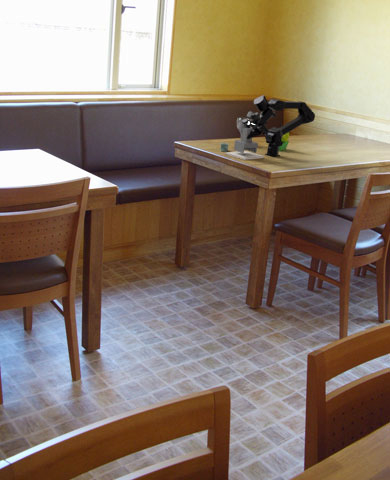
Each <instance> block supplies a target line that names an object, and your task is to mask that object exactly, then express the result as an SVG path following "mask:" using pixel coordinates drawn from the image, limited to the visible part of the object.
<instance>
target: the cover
mask: <svg viewBox="0 0 390 480" xmlns="http://www.w3.org/2000/svg"><path fill="white" fill-rule="evenodd" d="M252 130H253V128H252V129H250V128H243V132H242V140H241V139H235V140H234V146H233V151H234V152H240V153H244V151H248V152H251V153H255V154H257V150H258V146H259V143H258V142H256V141H253V137H252V138H250V139H247V137H248V135H249V134H250V133H251V131H252Z"/></svg>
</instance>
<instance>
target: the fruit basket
mask: <svg viewBox="0 0 390 480" xmlns="http://www.w3.org/2000/svg"><path fill="white" fill-rule="evenodd" d="M289 138H290V132H288V133H286V134H285V135H283V137H282V139H281V140H282V141H283V145H282V146H279V152H281V151H284V149H285V150H286V149H287V147H288V144H289V143H290V140H289Z"/></svg>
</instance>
